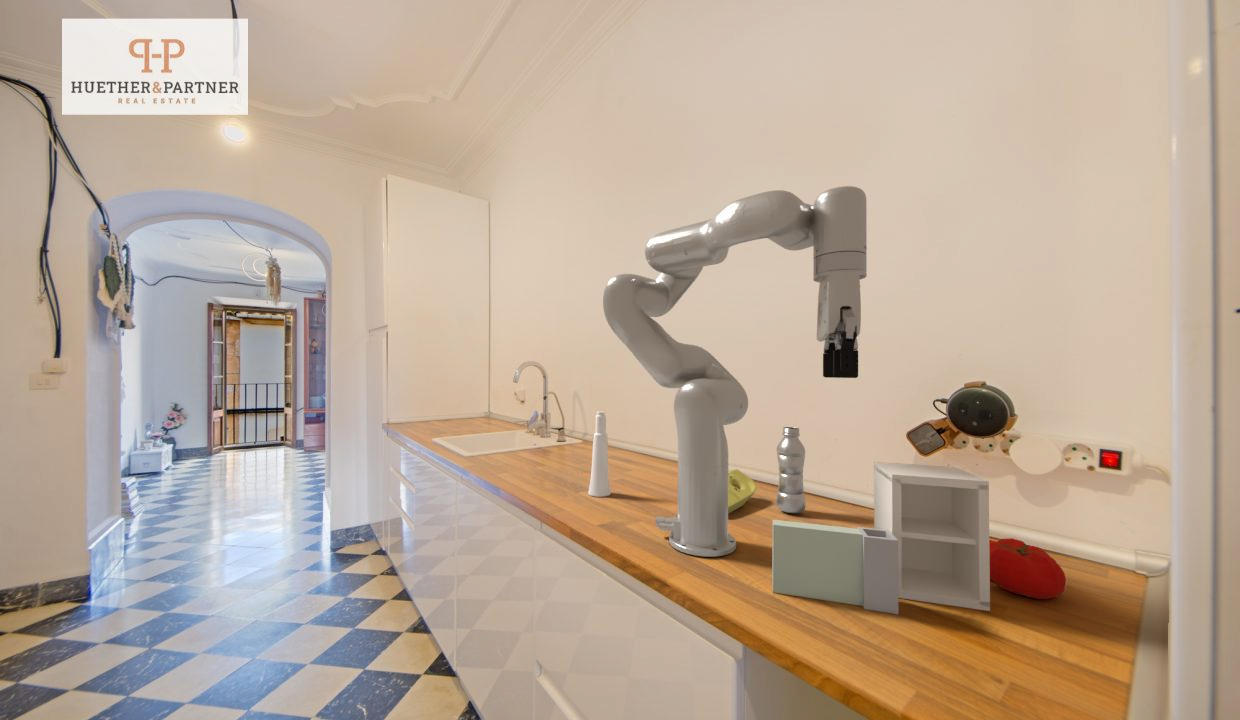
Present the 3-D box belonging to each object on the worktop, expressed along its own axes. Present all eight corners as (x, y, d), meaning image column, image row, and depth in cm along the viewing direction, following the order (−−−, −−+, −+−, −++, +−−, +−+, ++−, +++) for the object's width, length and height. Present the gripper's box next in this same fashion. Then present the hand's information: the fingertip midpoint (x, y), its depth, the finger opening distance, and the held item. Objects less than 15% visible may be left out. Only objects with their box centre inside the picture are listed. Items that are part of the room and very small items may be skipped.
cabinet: (873, 606, 62) (872, 478, 62) (851, 565, 75) (851, 460, 76) (1005, 626, 57) (1004, 488, 58) (957, 579, 71) (956, 467, 71)
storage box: (889, 599, 64) (888, 530, 64) (898, 614, 60) (898, 540, 60) (772, 582, 69) (772, 517, 69) (773, 595, 65) (773, 526, 65)
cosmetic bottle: (583, 493, 117) (585, 411, 118) (601, 489, 121) (603, 410, 122) (597, 498, 113) (598, 413, 113) (615, 494, 117) (616, 412, 117)
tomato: (1003, 601, 64) (1002, 556, 64) (963, 569, 75) (963, 530, 75) (1084, 610, 62) (1083, 563, 62) (1031, 576, 73) (1030, 536, 73)
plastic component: (723, 509, 98) (689, 482, 104) (712, 535, 100) (679, 507, 106) (763, 487, 112) (732, 465, 118) (752, 510, 115) (722, 487, 121)
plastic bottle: (790, 518, 100) (790, 430, 100) (770, 509, 106) (770, 426, 107) (812, 515, 102) (812, 429, 103) (791, 506, 108) (791, 425, 109)
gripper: (807, 281, 78) (806, 377, 78) (821, 256, 62) (821, 377, 61) (853, 279, 76) (853, 377, 76) (881, 253, 60) (881, 378, 59)
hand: (839, 377), depth 69 cm, fingers open, 9 cm apart
